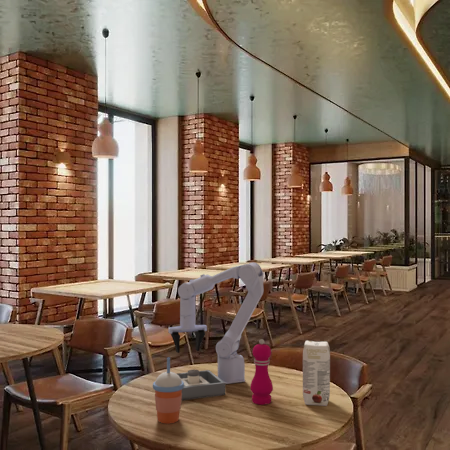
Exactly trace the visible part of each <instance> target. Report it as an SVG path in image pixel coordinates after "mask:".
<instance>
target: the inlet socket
mask: <svg viewBox="0 0 450 450" xmlns="http://www.w3.org/2000/svg"><path fill="white" fill-rule="evenodd" d="M181 380H182V381H183V382H184V387H186V386H195V385H203V384H209V383H208V382H207V381H206V380H205V379H204V378H202V377H201V376H200V377H199V383H195V384H188V378H183V379H181Z"/></svg>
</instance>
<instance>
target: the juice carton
mask: <svg viewBox="0 0 450 450" xmlns="http://www.w3.org/2000/svg"><path fill="white" fill-rule="evenodd" d="M303 344H304V345H303V350H302V398H303V401H304V404H305V405H308V406H319V407H321V406H323V407H327V406H328V403H329V401H330V397H331V396H330V395H331V394H330V393H331V391H330V390H331V389H330V388H331V387H330V386H331V350H330V345H329V342H328V341H313V340H305V342H304V343H303Z"/></svg>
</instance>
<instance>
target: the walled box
mask: <svg viewBox="0 0 450 450" xmlns="http://www.w3.org/2000/svg"><path fill="white" fill-rule="evenodd" d="M176 374H177V375H178V376H179V377H180V378H181V379H183V378H188V371H187V372H178V373H176ZM200 376H201V377H202V378H204V379H205V380H206V381H207V382H208V383H209V384H203V385H195V386H186V387H184V388H183V389H182V392H181V393H182V399H181V402H182V401H187V400H188V401H189V400H195V399H203V398H211V397H212V398H213V397H218V396H220V397H221V396H226V384H225V382H224V381H222V380H221V379H220V378H219V377H218V375H216V374H215V373H213V372H212V371H210V369H207V370H205V369H204V370H199V377H200Z"/></svg>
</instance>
